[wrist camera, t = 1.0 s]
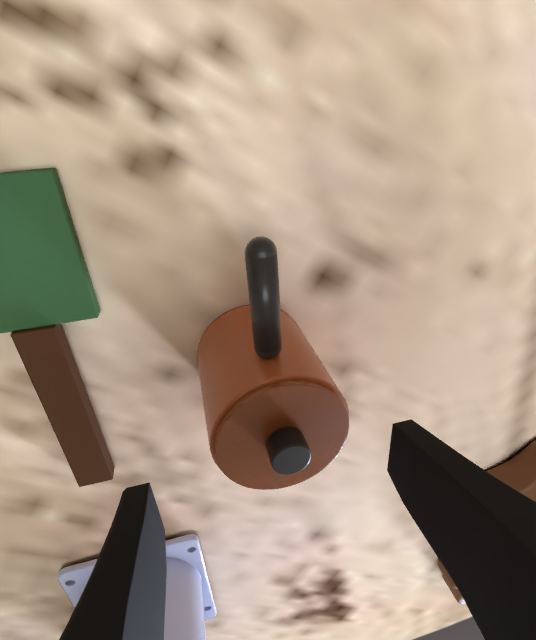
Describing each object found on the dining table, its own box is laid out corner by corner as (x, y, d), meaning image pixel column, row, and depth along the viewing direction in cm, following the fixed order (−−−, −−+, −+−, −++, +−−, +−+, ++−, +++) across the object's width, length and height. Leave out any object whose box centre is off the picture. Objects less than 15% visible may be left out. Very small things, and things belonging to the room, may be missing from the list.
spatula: (146, 459, 20) (145, 472, 20) (48, 482, 19) (44, 495, 19) (56, 167, 13) (50, 170, 13) (-103, 182, 12) (-119, 186, 12)
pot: (303, 384, 20) (360, 492, 15) (205, 405, 19) (224, 529, 14) (298, 200, 16) (379, 251, 10) (170, 216, 15) (176, 282, 9)
